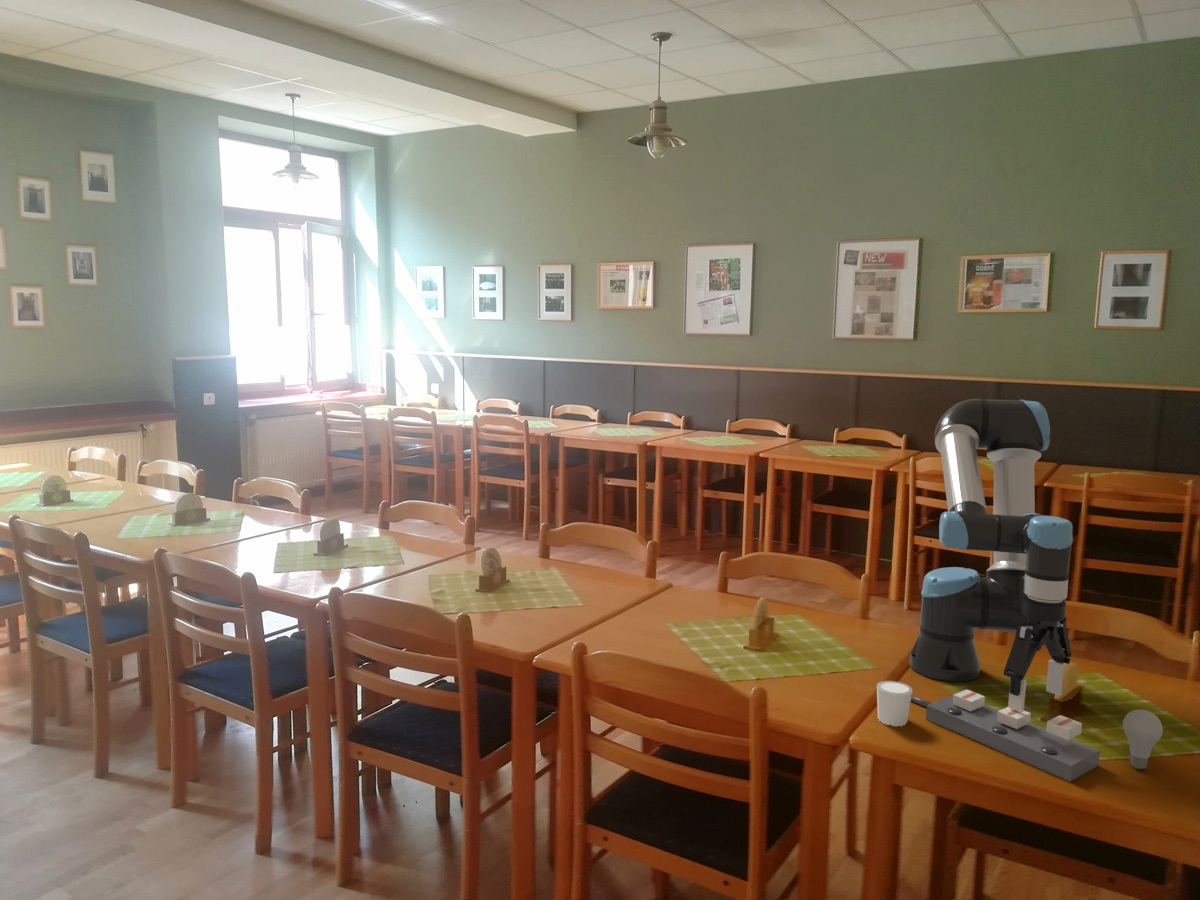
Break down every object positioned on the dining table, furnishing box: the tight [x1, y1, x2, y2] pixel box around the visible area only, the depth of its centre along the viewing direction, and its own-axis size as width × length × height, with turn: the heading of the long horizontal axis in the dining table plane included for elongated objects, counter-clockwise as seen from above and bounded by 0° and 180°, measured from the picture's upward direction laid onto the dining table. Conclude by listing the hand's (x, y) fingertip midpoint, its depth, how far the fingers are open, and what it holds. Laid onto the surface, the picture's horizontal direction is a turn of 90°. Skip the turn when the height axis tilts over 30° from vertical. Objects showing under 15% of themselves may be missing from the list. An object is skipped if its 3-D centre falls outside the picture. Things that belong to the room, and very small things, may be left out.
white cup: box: [876, 680, 913, 727], centre depth 176 cm, size 7×7×7 cm
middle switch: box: [997, 706, 1032, 729], centre depth 169 cm, size 5×4×2 cm
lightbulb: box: [1122, 709, 1164, 770], centre depth 158 cm, size 6×6×11 cm
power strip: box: [911, 694, 1101, 783], centre depth 172 cm, size 10×39×3 cm, turn 35°
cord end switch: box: [952, 689, 986, 711], centre depth 176 cm, size 5×4×2 cm
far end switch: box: [1045, 714, 1083, 740], centre depth 161 cm, size 5×4×2 cm
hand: (1035, 701), depth 173 cm, fingers open, 13 cm apart
